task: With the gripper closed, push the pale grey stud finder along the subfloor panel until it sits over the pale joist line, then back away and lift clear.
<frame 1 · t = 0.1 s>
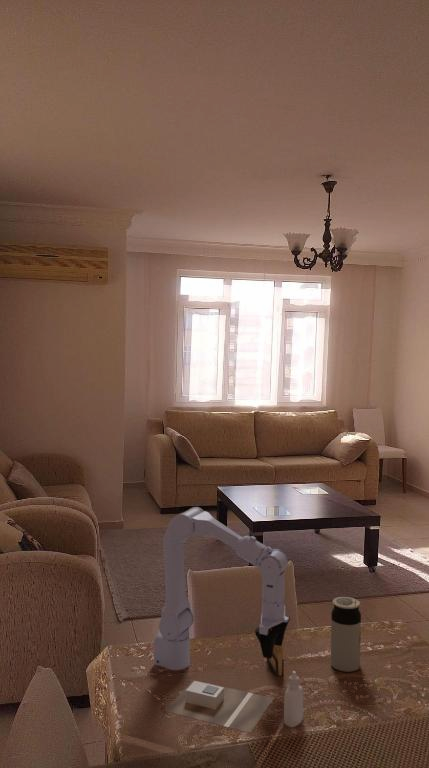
hand: (272, 651, 169), 10 cm above the table, tool pointing down, fingers open, 7 cm apart
stud finder: (204, 700, 162), point 1 cm above the table, touching subfloor panel
ammunition clip: (275, 670, 180), on the table
eye dropper bottle: (293, 722, 155), on the table
travel mug: (345, 666, 182), on the table
subfloor panel: (216, 707, 161), on the table
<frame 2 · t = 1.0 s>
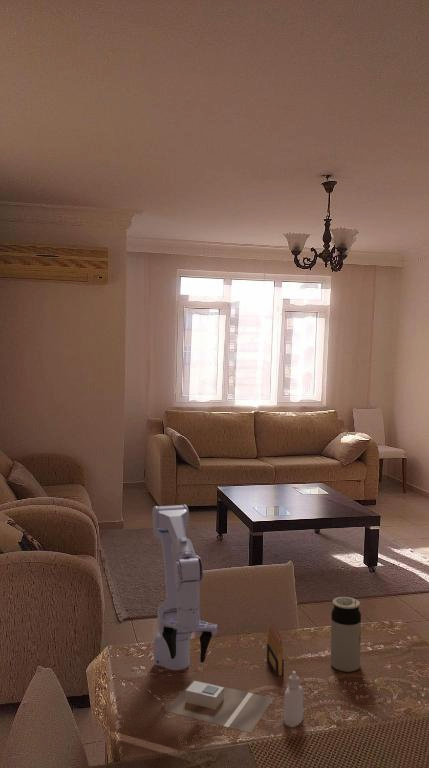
hand: (188, 658, 166), 9 cm above the table, tool pointing down, fingers open, 7 cm apart
nothing on the table moved.
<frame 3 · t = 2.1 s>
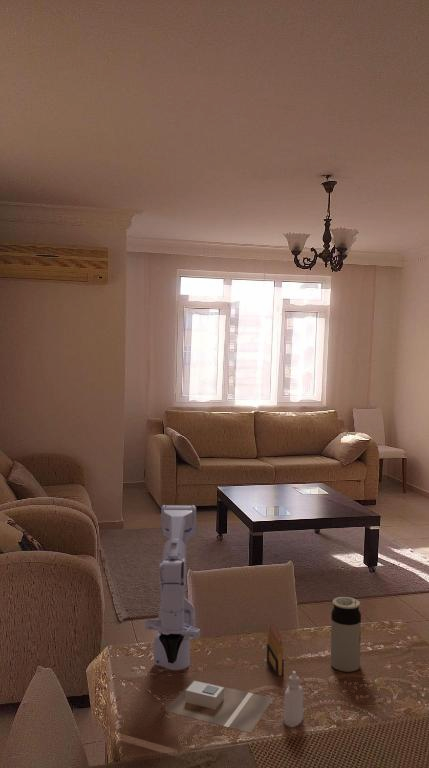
hand: (172, 661, 165), 9 cm above the table, tool pointing down, fingers closed
nothing on the table moved.
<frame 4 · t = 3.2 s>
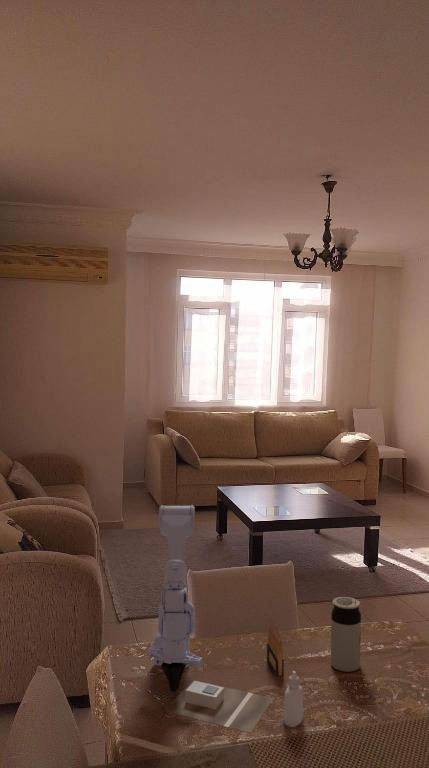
hand: (174, 689, 166), 2 cm above the table, tool pointing down, fingers closed
nothing on the table moved.
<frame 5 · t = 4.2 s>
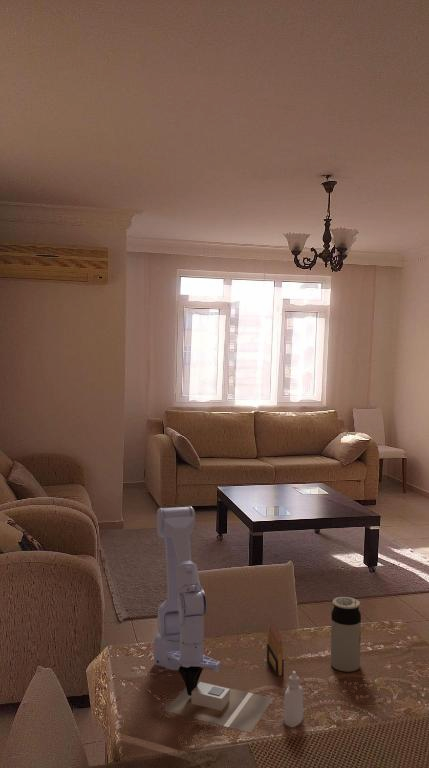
hand: (191, 693, 164), 2 cm above the table, tool pointing down, fingers closed
stud finder: (210, 702, 162), point 1 cm above the table, touching gripper, subfloor panel
everything else where it was.
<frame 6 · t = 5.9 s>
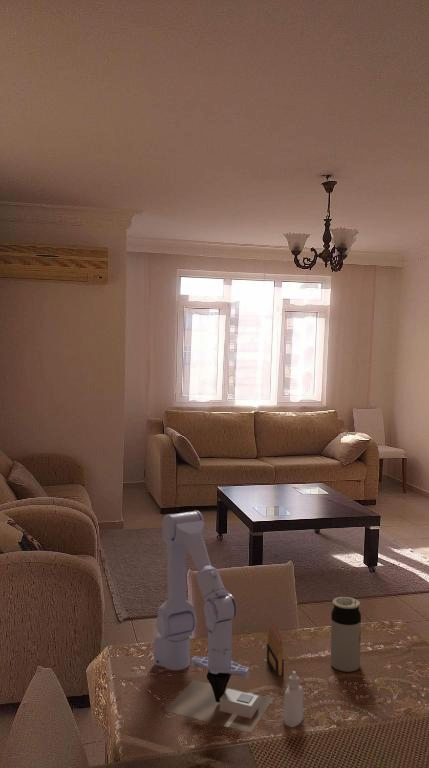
hand: (219, 700, 161), 2 cm above the table, tool pointing down, fingers closed
stud finder: (239, 709, 159), point 1 cm above the table, touching gripper, subfloor panel
everything else where it was.
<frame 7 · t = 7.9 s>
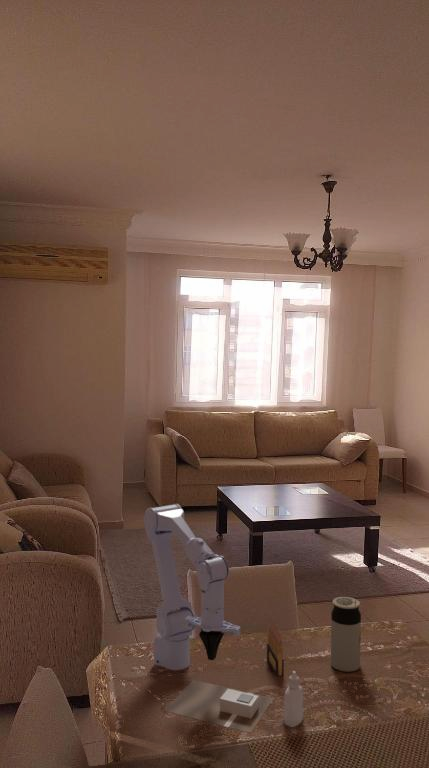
hand: (212, 658, 167), 9 cm above the table, tool pointing down, fingers closed
stud finder: (239, 709, 159), point 1 cm above the table, touching subfloor panel
everything else where it was.
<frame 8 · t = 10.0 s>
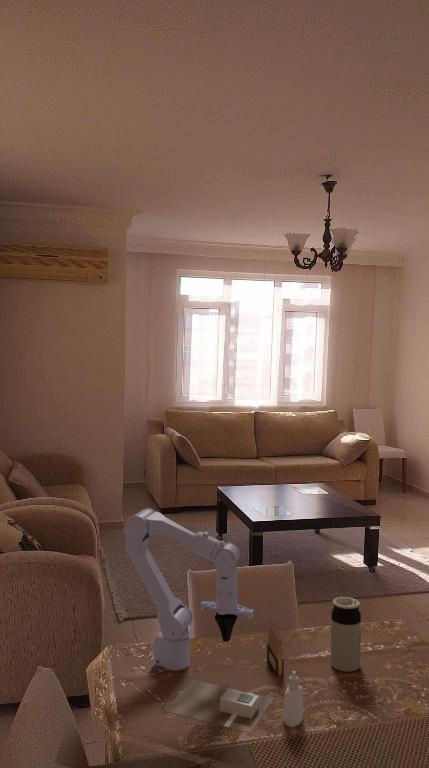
hand: (226, 640, 177), 9 cm above the table, tool pointing down, fingers closed
nothing on the table moved.
at the end: stud finder 0.2 cm from the target spot, point 1.0 cm above the table; stud finder tilted 0° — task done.
